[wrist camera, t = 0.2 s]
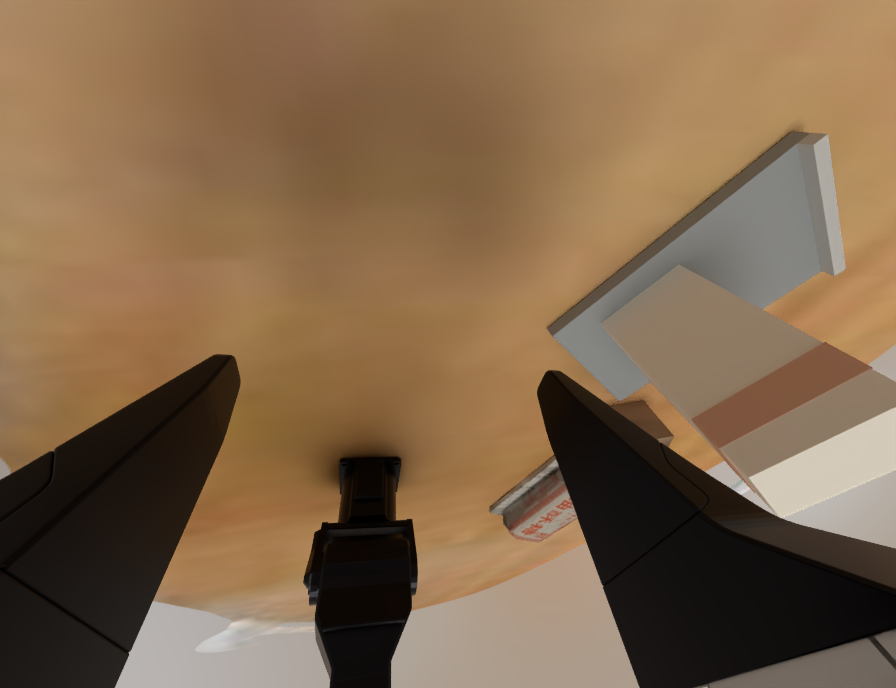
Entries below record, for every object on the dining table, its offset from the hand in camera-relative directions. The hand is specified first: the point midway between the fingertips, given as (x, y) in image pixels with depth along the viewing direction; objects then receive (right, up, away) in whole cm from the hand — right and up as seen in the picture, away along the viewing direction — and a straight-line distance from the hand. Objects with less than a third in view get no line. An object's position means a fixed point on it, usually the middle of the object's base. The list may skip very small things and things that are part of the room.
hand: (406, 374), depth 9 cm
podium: (+21, +5, +18) cm, 29 cm away
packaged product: (+16, -17, +35) cm, 42 cm away
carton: (+19, +3, +18) cm, 27 cm away
